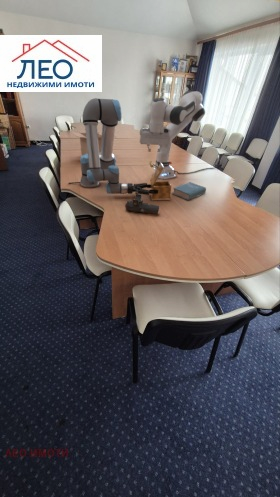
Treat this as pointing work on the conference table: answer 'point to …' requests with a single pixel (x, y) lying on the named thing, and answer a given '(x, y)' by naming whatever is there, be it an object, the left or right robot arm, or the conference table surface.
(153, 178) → the lid
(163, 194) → the chest
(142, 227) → the conference table surface
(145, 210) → the laser sight
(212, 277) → the conference table surface
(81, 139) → the box
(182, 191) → the book
